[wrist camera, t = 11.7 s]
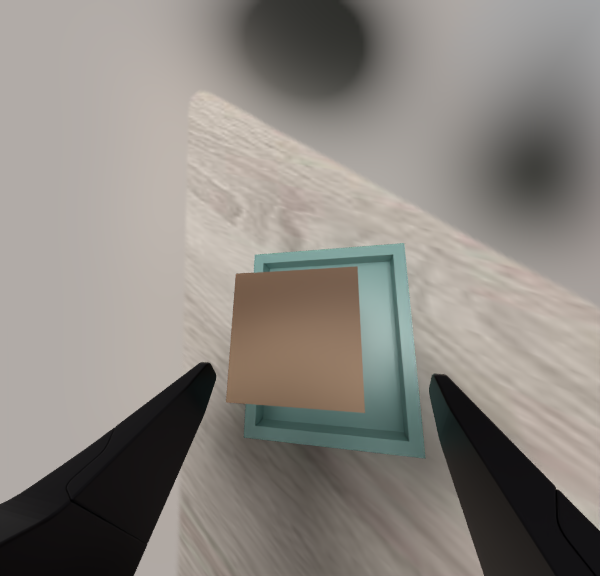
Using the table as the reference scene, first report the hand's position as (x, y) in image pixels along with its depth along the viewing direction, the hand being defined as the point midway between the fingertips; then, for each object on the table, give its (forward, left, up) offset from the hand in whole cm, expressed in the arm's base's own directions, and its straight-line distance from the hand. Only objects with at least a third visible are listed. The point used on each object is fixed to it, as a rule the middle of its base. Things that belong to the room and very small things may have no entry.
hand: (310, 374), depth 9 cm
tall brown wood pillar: (+1, 0, -8) cm, 9 cm away
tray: (+1, 0, -9) cm, 10 cm away
